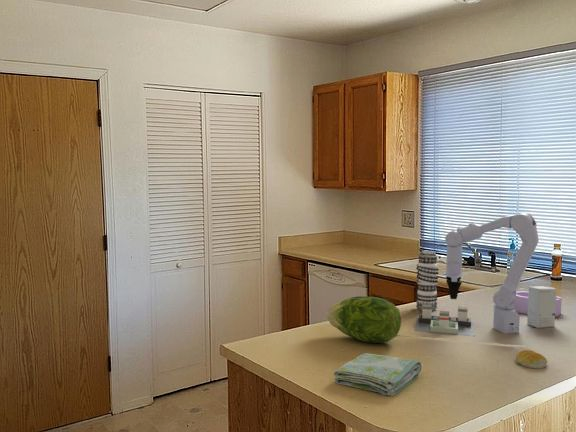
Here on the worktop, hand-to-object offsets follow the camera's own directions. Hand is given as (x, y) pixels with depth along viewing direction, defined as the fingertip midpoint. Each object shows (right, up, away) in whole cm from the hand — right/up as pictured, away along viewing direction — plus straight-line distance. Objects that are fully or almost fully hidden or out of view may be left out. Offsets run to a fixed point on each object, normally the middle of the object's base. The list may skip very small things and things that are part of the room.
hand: (453, 296), depth 213 cm
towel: (-39, -15, -58) cm, 71 cm away
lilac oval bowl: (+40, -9, +20) cm, 46 cm away
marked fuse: (-7, -10, -11) cm, 16 cm away
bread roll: (+10, -14, -45) cm, 48 cm away
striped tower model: (-5, -9, +20) cm, 22 cm away
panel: (-6, -11, -7) cm, 14 cm away
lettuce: (-38, -12, -22) cm, 46 cm away
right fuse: (+2, -10, -4) cm, 11 cm away
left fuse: (-10, -9, -1) cm, 14 cm away
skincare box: (+33, -11, -2) cm, 35 cm away
